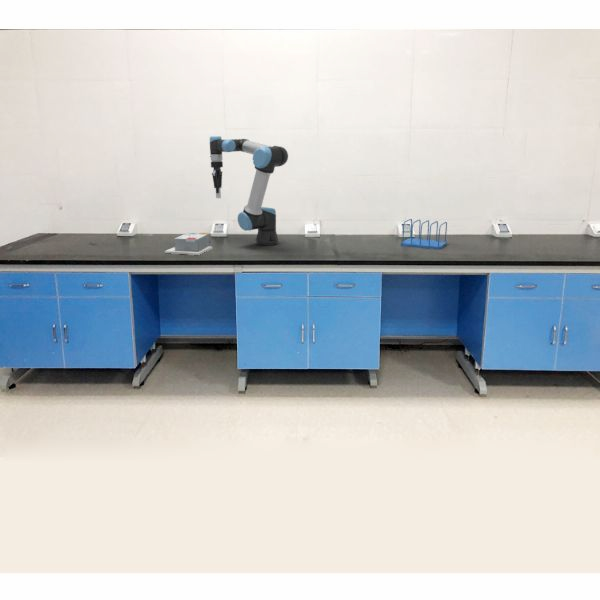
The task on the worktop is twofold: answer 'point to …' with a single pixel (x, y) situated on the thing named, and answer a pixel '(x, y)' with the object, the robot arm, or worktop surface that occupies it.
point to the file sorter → (423, 242)
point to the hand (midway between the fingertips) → (218, 198)
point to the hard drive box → (192, 242)
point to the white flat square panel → (188, 251)
